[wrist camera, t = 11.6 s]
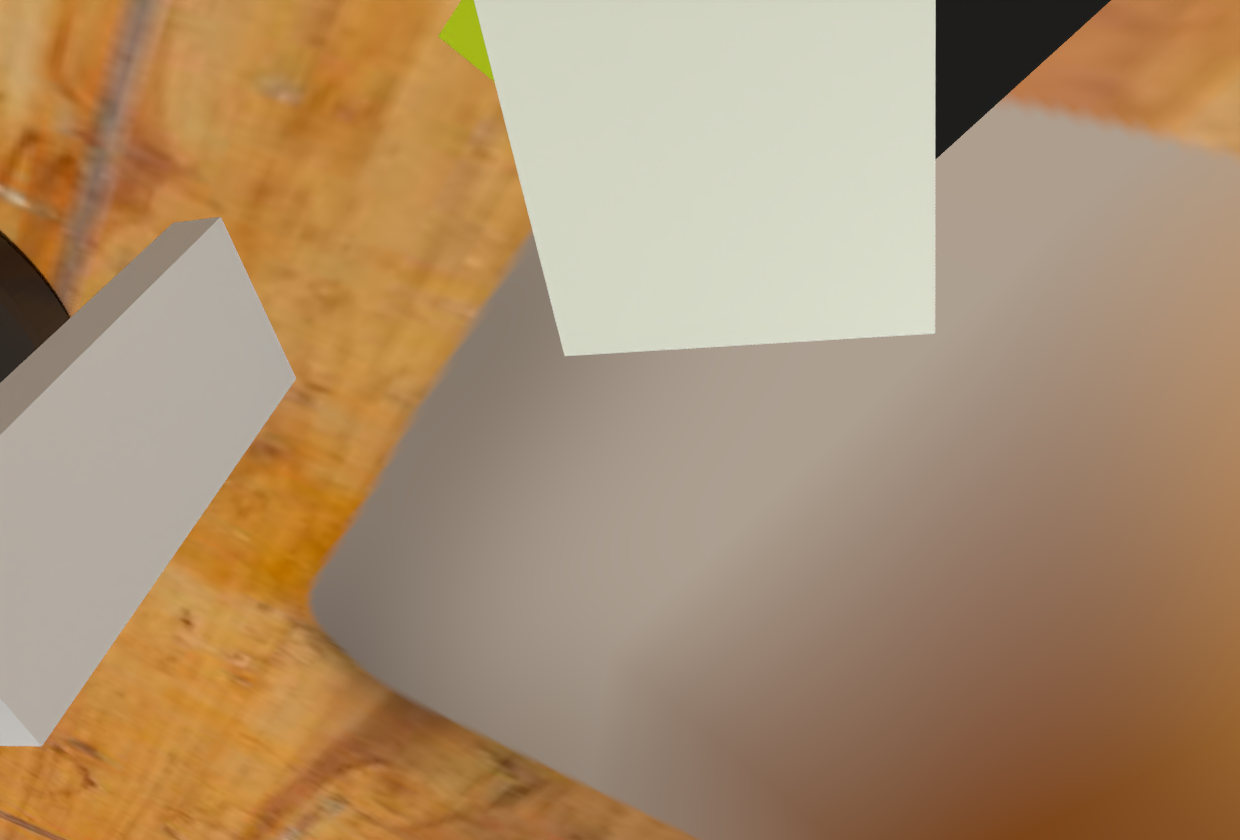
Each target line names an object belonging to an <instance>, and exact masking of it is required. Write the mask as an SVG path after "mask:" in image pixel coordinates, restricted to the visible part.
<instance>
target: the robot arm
mask: <svg viewBox="0 0 1240 840" xmlns="http://www.w3.org/2000/svg"><path fill="white" fill-rule="evenodd" d="M295 379H296V377H295V375H294V373H293V371H292V369H291V366H290V364H289V362H288V360H287V358H286V356H285V354H284V351H283V349H282V347H281V345H280V343H279V341H278V339H277V336H276V334H275V332H274V330H273V328H272V326H271V324H270V321H269V319H268V317H267V315H266V313H265V311H264V308H263V306H262V304H261V302H260V300H259V298H258V296H257V293H256V291H255V289H254V287H253V285H252V283H251V281H250V278H249V276H248V274H247V272H246V270H245V268H244V266H243V263H242V261H241V259H240V257H239V255H238V253H237V251H236V248H235V246H234V244H233V242H232V240H231V238H230V236H229V233H228V231H227V229H226V227H225V225H224V223H223V221H222V218H221V217H215V218H208V219H200V220H192V221H185V222H177V223H173V224H171V225H170V226H169V227H168V228H167V229H166V230H165V231H164V232H163V233H162V234H161V235H160V236H159V237H157V238H156V239H155V240H154V241H153V242H152V243H151V244H150V245H149V246H148V247H147V248H146V249H144V250H143V251H142V252H141V253H140V254H139V255H138V256H137V257H136V258H135V259H134V260H133V261H132V262H130V263H129V264H128V265H127V266H126V267H125V268H124V269H123V270H122V271H121V272H120V273H119V274H117V275H116V276H115V277H114V278H113V279H112V280H111V281H110V282H109V283H108V284H107V285H106V286H104V287H103V288H102V289H101V290H100V291H99V292H98V293H97V294H96V295H95V296H94V297H93V298H92V299H90V300H89V301H88V302H87V303H86V304H85V305H84V306H83V307H82V308H81V309H80V310H79V311H77V312H76V313H75V314H74V315H73V316H72V317H71V318H70V319H69V318H68V316H67V314H66V312H65V311H64V309H63V308H62V306H61V304H60V303H59V301H58V300H57V298H56V297H55V296H54V294H53V293H52V291H51V290H50V289H49V287H48V286H47V285H46V283H45V282H44V281H43V280H42V278H41V277H40V276H39V275H38V274H37V272H36V271H35V270H34V269H33V268H32V267H31V266H30V265H29V263H28V262H27V261H26V260H25V259H24V258H23V257H22V256H21V255H20V254H19V253H18V252H17V251H16V250H15V249H14V248H13V247H11V246H10V245H9V244H8V243H7V242H6V241H5V240H4V239H3V238H2V237H0V746H42V745H43V744H44V742H45V741H46V739H47V738H48V737H49V735H50V734H51V732H52V731H53V729H54V728H55V726H56V725H57V723H58V722H59V721H60V719H61V718H62V716H63V715H64V713H65V712H66V710H67V709H68V708H69V706H70V705H71V703H72V702H73V700H74V699H75V697H76V696H77V695H78V693H79V692H80V690H81V689H82V687H83V686H84V684H85V683H86V682H87V680H88V679H89V677H90V676H91V674H92V673H93V671H94V670H95V669H96V667H97V666H98V664H99V663H100V661H101V660H102V658H103V657H104V656H105V654H106V653H107V651H108V650H109V648H110V647H111V645H112V644H113V643H114V641H115V640H116V638H117V637H118V635H119V634H120V632H121V631H122V630H123V628H124V627H125V625H126V624H127V622H128V621H129V619H130V618H131V616H132V615H133V614H134V612H135V611H136V609H137V608H138V606H139V605H140V603H141V602H142V601H143V599H144V598H145V596H146V595H147V593H148V592H149V590H150V589H151V588H152V586H153V585H154V583H155V582H156V580H157V579H158V577H159V576H160V575H161V573H162V572H163V570H164V569H165V567H166V566H167V564H168V563H169V562H170V560H171V559H172V557H173V556H174V554H175V553H176V551H177V550H178V549H179V547H180V546H181V544H182V543H183V541H184V540H185V538H186V537H187V536H188V534H189V533H190V531H191V530H192V528H193V527H194V525H195V524H196V523H197V521H198V520H199V518H200V517H201V515H202V514H203V512H204V511H205V509H206V508H207V507H208V505H209V504H210V502H211V501H212V499H213V498H214V496H215V495H216V494H217V492H218V491H219V489H220V488H221V486H222V485H223V483H224V482H225V481H226V479H227V478H228V476H229V475H230V473H231V472H232V470H233V469H234V468H235V466H236V465H237V463H238V462H239V460H240V459H241V457H242V456H243V455H244V453H245V452H246V450H247V449H248V447H249V446H250V444H251V443H252V442H253V440H254V439H255V437H256V436H257V434H258V433H259V431H260V430H261V429H262V427H263V426H264V424H265V423H266V421H267V420H268V418H269V417H270V416H271V414H272V413H273V411H274V410H275V408H276V407H277V405H278V404H279V402H280V401H281V400H282V398H283V397H284V395H285V394H286V392H287V391H288V389H289V388H290V387H291V385H292V384H293V382H294V381H295Z"/></svg>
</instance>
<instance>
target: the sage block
mask: <svg viewBox="0 0 1240 840" xmlns="http://www.w3.org/2000/svg"><path fill="white" fill-rule="evenodd" d="M474 3H475V7H476V11H477V14H478V18H479V22H480V26H481V30H482V34H483V38H484V42H485V46H486V50H487V54H488V58H489V61H490V65H491V69H492V73H493V77H494V81H495V85H496V89H497V93H498V97H499V101H500V105H501V109H502V112H503V116H504V120H505V124H506V128H507V132H508V136H509V140H510V144H511V148H512V152H513V156H514V159H515V163H516V167H517V171H518V175H519V179H520V183H521V187H522V191H523V195H524V199H525V203H526V206H527V210H528V214H529V218H530V222H531V226H532V230H533V234H534V238H535V242H536V246H537V249H538V253H539V257H540V261H541V265H542V269H543V273H544V277H545V281H546V285H547V288H548V293H549V297H550V300H551V304H552V308H553V312H554V316H555V320H556V324H557V328H558V332H559V336H560V340H561V343H562V347H563V351H564V355H565V356H573V355H589V354H607V353H624V352H640V351H655V350H672V349H687V348H688V349H689V348H705V347H722V346H738V345H752V344H753V345H755V344H771V343H786V342H804V341H819V340H836V339H853V338H869V337H886V336H902V335H918V334H935V43H936V0H474Z"/></svg>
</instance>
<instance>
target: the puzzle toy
mask: <svg viewBox="0 0 1240 840" xmlns="http://www.w3.org/2000/svg"><path fill="white" fill-rule="evenodd" d="M1110 1H1111V0H936V43H935V159H936V158H937V157H939V156H940V155H941V154H942V153H943V152H944V151H945V150H946V149H947V148H949V147H950V146H951V145H952V144H953V143H954V142H955V141H956V140H957V139H959V138H960V137H961V136H962V135H963V134H964V133H965V132H966V131H967V130H968V129H970V127H972V126H973V125H974V124H975V123H976V122H977V121H978V120H979V119H981V118H982V117H983V116H984V115H985V114H986V113H987V112H988V111H989V110H990V109H992V108H993V107H994V106H995V105H996V104H997V103H998V102H999V101H1000V100H1002V99H1003V98H1004V97H1005V96H1006V95H1007V94H1008V93H1009V92H1010V91H1011V90H1013V89H1014V88H1015V87H1016V86H1017V85H1018V84H1019V83H1020V82H1021V81H1022V80H1024V79H1025V78H1026V77H1027V76H1028V75H1029V74H1030V73H1031V72H1032V71H1033V70H1035V69H1036V68H1037V67H1038V66H1039V65H1040V64H1041V63H1042V62H1043V61H1044V60H1046V59H1047V58H1048V57H1049V56H1050V55H1051V54H1052V53H1053V52H1054V51H1056V50H1057V49H1058V48H1059V47H1060V46H1061V45H1062V44H1063V43H1064V42H1065V41H1067V40H1068V39H1069V38H1070V37H1071V36H1072V35H1073V34H1074V33H1075V32H1076V31H1078V30H1079V29H1080V28H1081V27H1082V26H1083V25H1084V24H1085V23H1086V22H1087V21H1089V20H1090V19H1091V18H1092V17H1093V16H1094V15H1095V14H1096V13H1097V12H1098V11H1100V10H1101V9H1102V8H1103V7H1104V6H1105V5H1106V4H1107V3H1108V2H1110ZM438 37H439V38H441V39H442V40H443V41H444V42H446V43H447V44H448V45H449V46H451V47H452V48H453V49H454V50H456V51H457V52H458V53H459V54H461V55H462V56H463V57H464V58H466V59H467V60H468V61H469V62H471V63H472V64H473V65H474V66H476V67H477V68H478V69H479V70H481V71H482V72H483V73H484V74H486V75H487V76H488V77H489V78H491V79H492V80H493V81H494V77H493V73H492V69H491V65H490V61H489V58H488V54H487V50H486V46H485V42H484V38H483V34H482V30H481V26H480V22H479V18H478V14H477V11H476V7H475V3H474V0H461V2H460V3H459V5H458V7H457V8H456V10H455V11H454V13H453V14H452V16H451V17H450V19H449V20H448V22H447V24H446V25H445V27H444V28H443V30H442V31H441V33H440V34H439V36H438ZM494 82H495V81H494Z"/></svg>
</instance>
